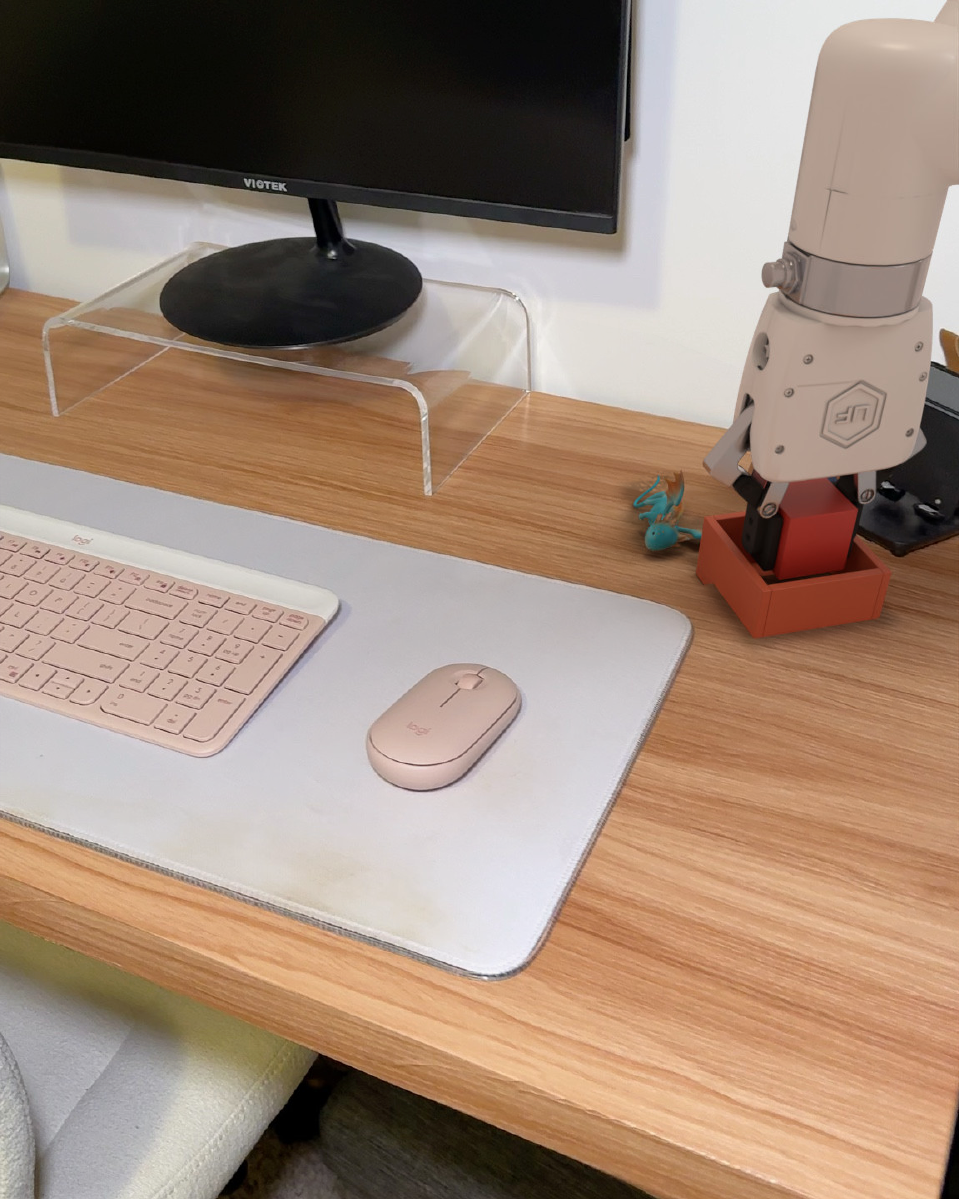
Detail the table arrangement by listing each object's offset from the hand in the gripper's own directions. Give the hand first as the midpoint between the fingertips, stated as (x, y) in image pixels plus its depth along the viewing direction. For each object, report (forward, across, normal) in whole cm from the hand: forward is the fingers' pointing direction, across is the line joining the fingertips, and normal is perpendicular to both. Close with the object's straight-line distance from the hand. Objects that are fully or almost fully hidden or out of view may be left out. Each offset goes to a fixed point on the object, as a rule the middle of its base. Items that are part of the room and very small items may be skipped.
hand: (796, 550), depth 72 cm
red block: (0, 0, 0) cm, 0 cm away
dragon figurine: (+4, -4, +10) cm, 12 cm away
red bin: (+4, 0, 0) cm, 4 cm away
